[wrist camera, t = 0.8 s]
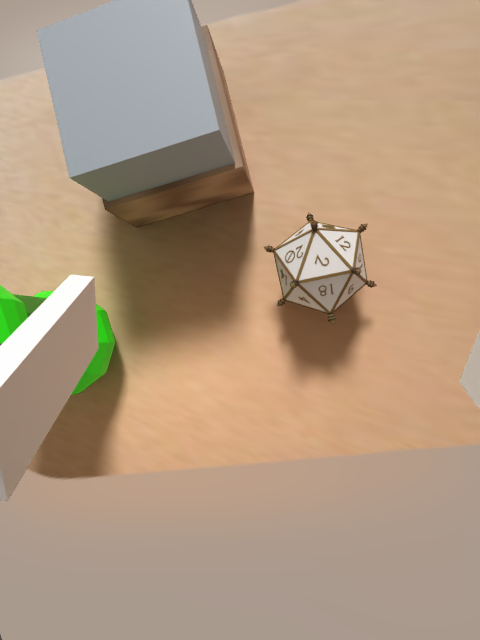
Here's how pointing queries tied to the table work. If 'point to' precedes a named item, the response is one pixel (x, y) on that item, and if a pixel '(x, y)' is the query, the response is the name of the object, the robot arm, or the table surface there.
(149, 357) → the table surface
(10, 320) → the plastic bottle
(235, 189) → the tower base
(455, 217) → the table surface
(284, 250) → the game die
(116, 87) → the tower top
